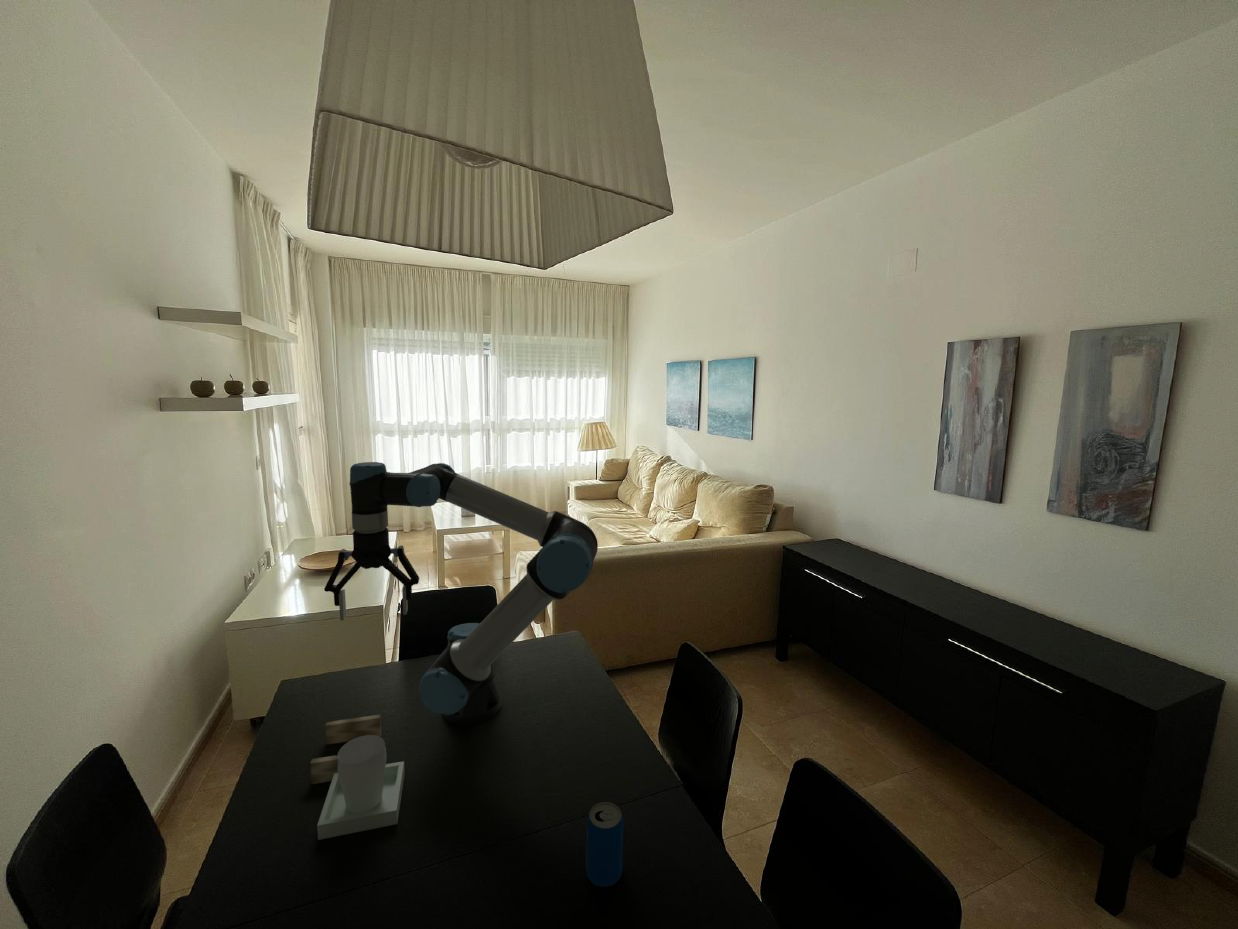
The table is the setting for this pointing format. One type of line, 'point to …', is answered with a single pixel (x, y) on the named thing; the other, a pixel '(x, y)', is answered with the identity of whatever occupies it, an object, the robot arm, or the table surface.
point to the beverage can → (604, 844)
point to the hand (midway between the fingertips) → (374, 615)
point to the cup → (362, 772)
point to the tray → (384, 814)
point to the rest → (340, 733)
